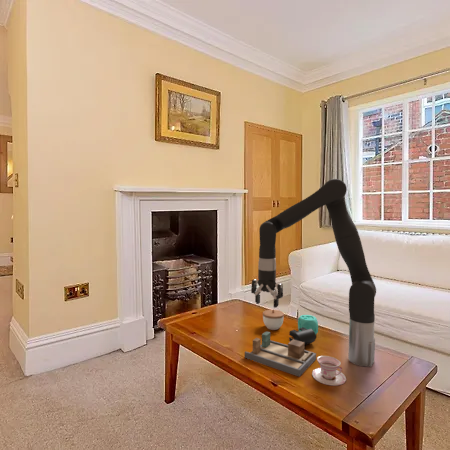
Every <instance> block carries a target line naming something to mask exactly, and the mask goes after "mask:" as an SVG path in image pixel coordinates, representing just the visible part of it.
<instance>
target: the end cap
mask: <svg viewBox="0 0 450 450" xmlns="http://www.w3.org/2000/svg"><path fill="white" fill-rule="evenodd" d="M299 330H301V331H299ZM299 330H295V329H292V330H289V336H290V337H289V338H288V341H289V342H291V341H292V340H293V339H294V340H298V341H301V342H305V346H307V345H310V344H312V343H313V342H315V341H316V337H317V336H316V335H317V334H316V335H315V332H314V331H313V330H312V329H305V328H303V327H302V328H299ZM292 337H293V338H292Z"/></svg>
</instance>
